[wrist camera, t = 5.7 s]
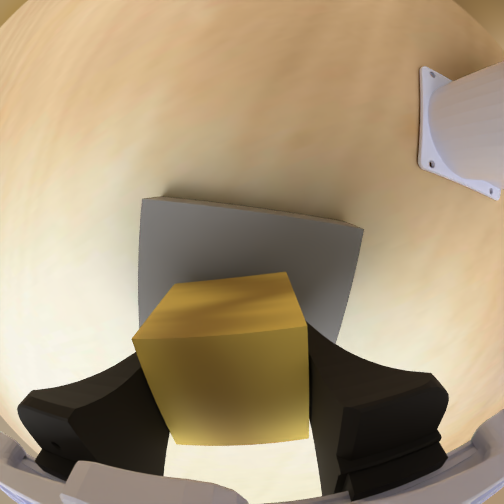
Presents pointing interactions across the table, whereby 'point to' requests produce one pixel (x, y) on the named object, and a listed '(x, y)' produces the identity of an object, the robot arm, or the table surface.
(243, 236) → the base block
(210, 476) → the table surface
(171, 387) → the mustard cube
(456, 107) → the robot arm
